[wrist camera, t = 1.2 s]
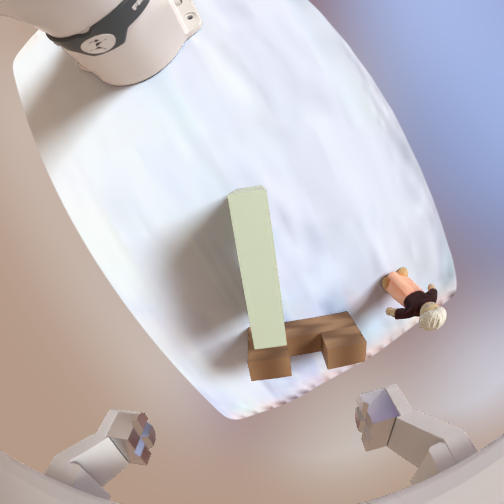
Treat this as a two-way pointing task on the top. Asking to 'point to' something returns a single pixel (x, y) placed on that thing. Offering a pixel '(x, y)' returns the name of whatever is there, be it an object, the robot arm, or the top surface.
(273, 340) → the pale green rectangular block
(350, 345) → the wooden u-shaped block
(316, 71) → the top surface
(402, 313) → the grandmother figurine
